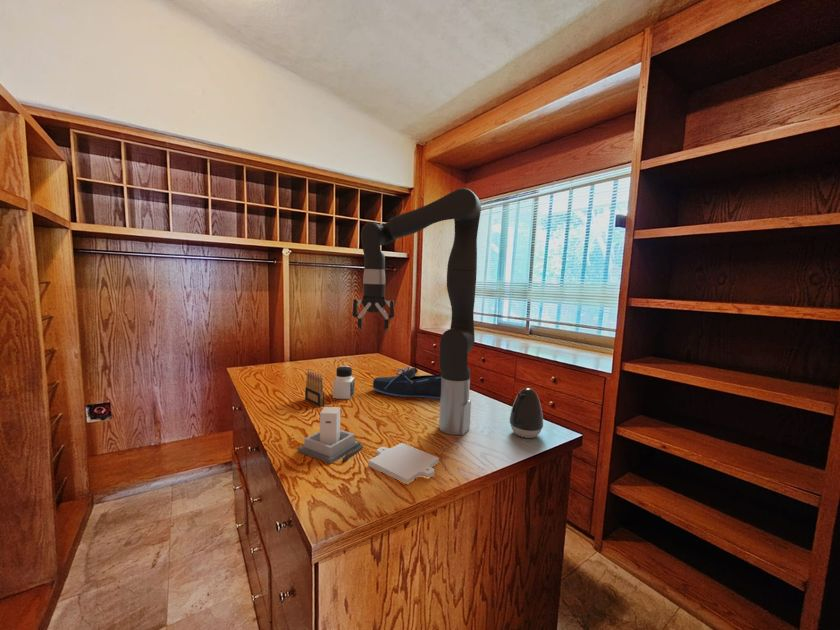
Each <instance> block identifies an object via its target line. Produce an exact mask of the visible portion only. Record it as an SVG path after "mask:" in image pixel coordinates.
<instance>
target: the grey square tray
mask: <svg viewBox="0 0 840 630" xmlns="http://www.w3.org/2000/svg"><path fill="white" fill-rule="evenodd" d="M355 436H356V435H355V433H353V432H349V431H346V430H343V429H340V441H338V442H336V443H335V444H333V445H331V446H330V445H327V444H324V443H321V442H320V430H318V431H317V432H314V433H313V434H311V435H309V436H307V437H304V442H303V443H304V444H303V445H301V446H298V447H297V452H299V453H301V454H303V455H307V456H309V457H312V458H314V459H317V460H319V461H321V462H325V463H327V464H330V465H331V464H333V463H334V462H336V461H338V460H339V459H341V458H344V457H345V456H346V455H348V454H349V453H350V452H352V451H353V450H354V449H356V448H357V447H358V446H360V445H361V443H362V442H361V441H358V440H355Z"/></svg>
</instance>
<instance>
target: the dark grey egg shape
mask: <svg viewBox="0 0 840 630" xmlns="http://www.w3.org/2000/svg"><path fill="white" fill-rule="evenodd" d="M509 424H510V427H511V430H512V431H513V432H514V434H515V435H517V436H519V437H520V436H521V438H523V437H525V439H532V438H536V437H537V436H538V435H539V434H540V433H541V432H542V430H543V427H544V414H543V410H542V405H541V401H540V398H539V396H538V394H537V392H536V391H535V390H534V389H533V388H531V387H524V388H522V389H520V391H519V392H518V393H517V395H516V397H515V399H514V401H513V404H512V407H511V410H510V415H509Z"/></svg>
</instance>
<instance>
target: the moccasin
mask: <svg viewBox="0 0 840 630" xmlns="http://www.w3.org/2000/svg"><path fill="white" fill-rule="evenodd" d="M400 371H401V373H399V372H400ZM417 373H418V369H417V367H411V368H410V366H408V365H407V366H406V367H405V368H404V369H403V368H402V367H401V368H398V369H397V371H396V373H395V376H386V377H385V376H380V377H375V378H373V381H372V389H373V390H374V391H376V392H379V393H380V394H381V393H382V394H385V395H390V396H394V397H405V398H406V397H407V398H408V397H411V398H412V397H413V398H430V399H435V400H436V399H437V400H440V393H441V373H437V374H426V375H425V374H424V375H416V374H417Z"/></svg>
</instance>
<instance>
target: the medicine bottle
mask: <svg viewBox="0 0 840 630" xmlns="http://www.w3.org/2000/svg"><path fill="white" fill-rule="evenodd" d="M335 375H336V378H335V379H334V380H333V381H332V399H334V398H336V399H337V400H338V399H340V400H341V399H342V400H351V399H352V398H353V396H354V394H355V382H356V380H355V376H352V375H353V368H352V367H351V366H348V365H342V366H341V365H340V366H339V367H337V368H336V374H335Z"/></svg>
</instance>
